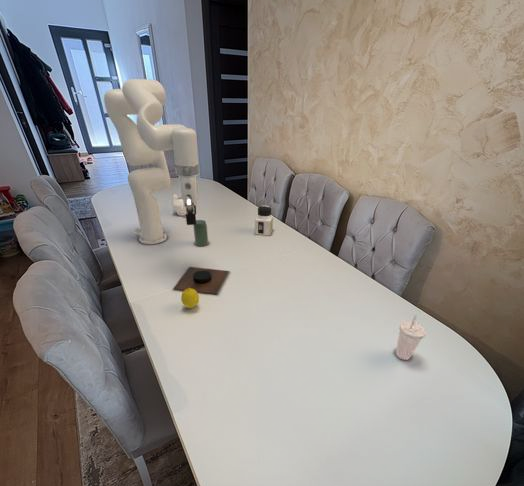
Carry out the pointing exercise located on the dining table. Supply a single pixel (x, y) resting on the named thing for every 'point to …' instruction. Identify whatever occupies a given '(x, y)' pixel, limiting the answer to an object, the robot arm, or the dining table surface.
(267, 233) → the container
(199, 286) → the placemat
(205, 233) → the jar
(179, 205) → the teapot
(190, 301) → the fruit
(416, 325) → the smoothie
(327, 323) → the dining table surface
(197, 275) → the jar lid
